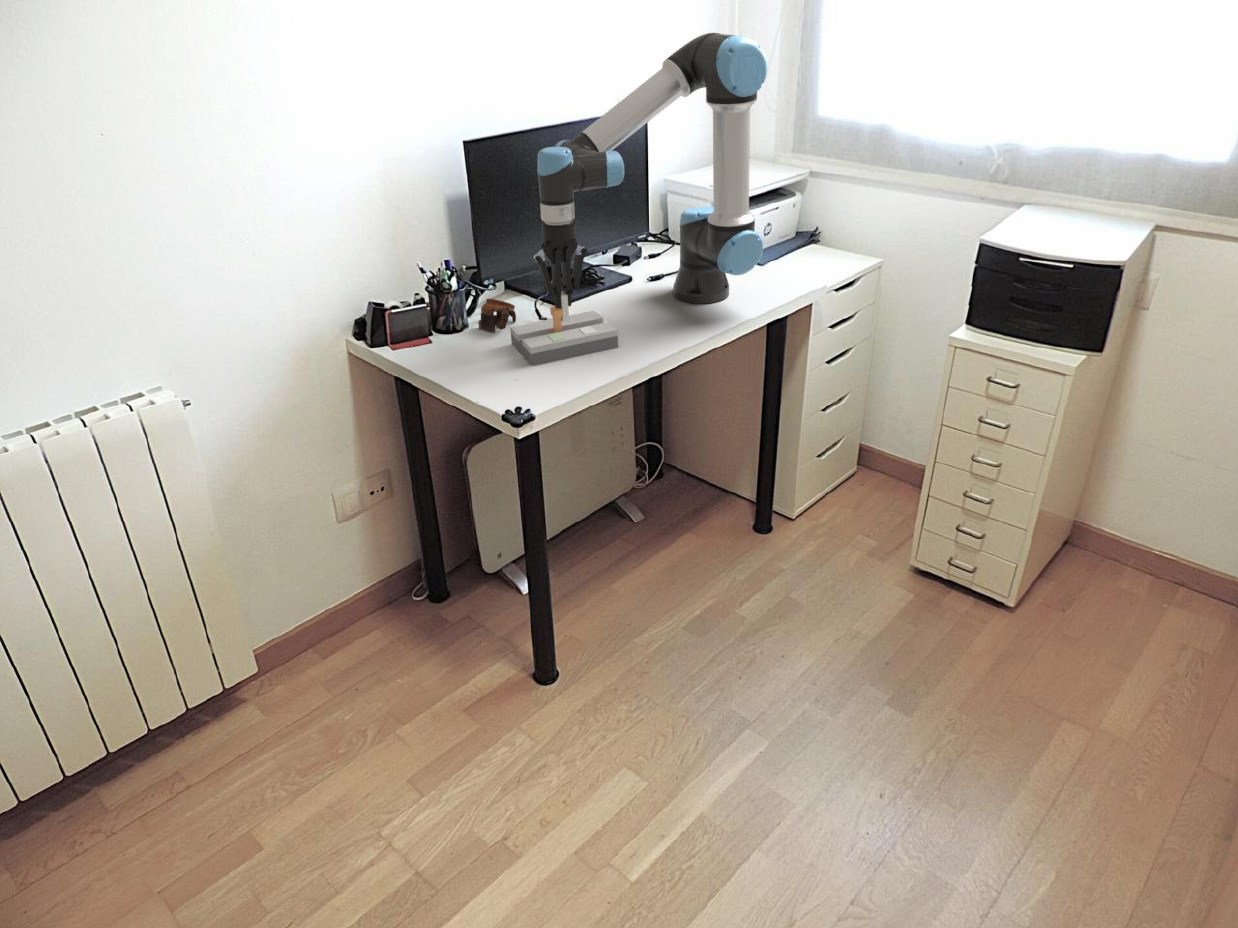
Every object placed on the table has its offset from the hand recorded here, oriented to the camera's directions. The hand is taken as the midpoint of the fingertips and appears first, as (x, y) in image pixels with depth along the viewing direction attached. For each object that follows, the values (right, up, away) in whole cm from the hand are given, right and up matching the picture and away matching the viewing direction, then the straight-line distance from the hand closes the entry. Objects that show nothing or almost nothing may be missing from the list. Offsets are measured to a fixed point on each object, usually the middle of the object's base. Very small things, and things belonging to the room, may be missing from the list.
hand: (563, 319), depth 212 cm
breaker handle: (-1, -3, +1) cm, 4 cm away
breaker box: (0, -6, +3) cm, 7 cm away
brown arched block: (-17, 0, +15) cm, 23 cm away
